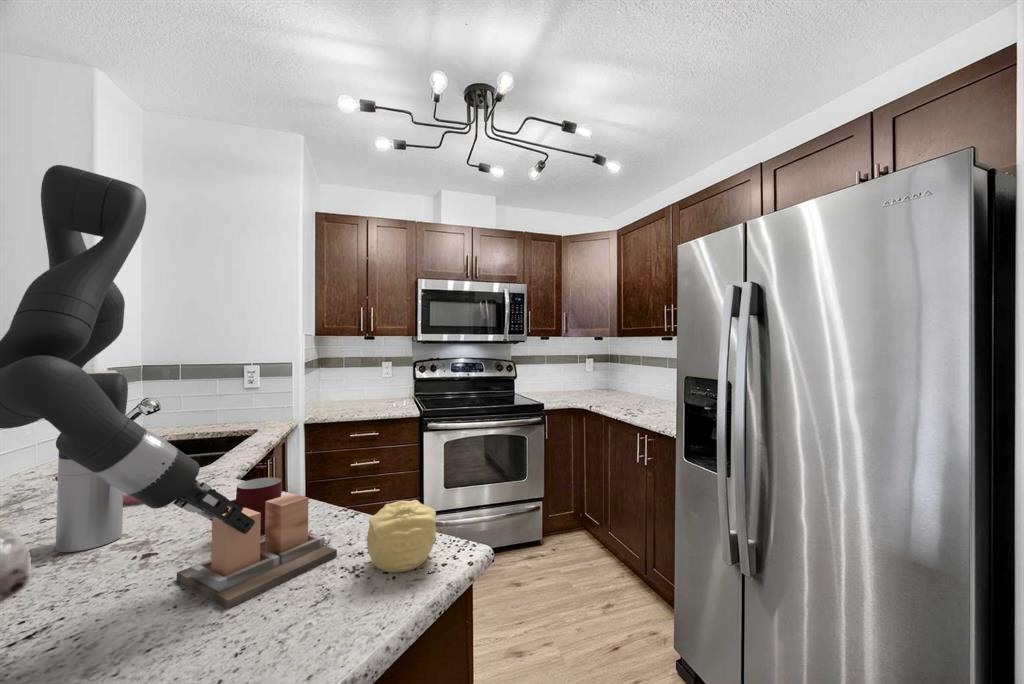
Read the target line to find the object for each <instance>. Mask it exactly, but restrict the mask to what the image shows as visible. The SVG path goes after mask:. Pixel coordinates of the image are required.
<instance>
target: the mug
mask: <svg viewBox="0 0 1024 684" xmlns="http://www.w3.org/2000/svg"><path fill="white" fill-rule="evenodd" d="M282 482H283V481H282V479H281V478H280V477H260V478H254V479H250V480H246V481H242V482H241V483H238V484H236V485H237V486H236V493H235V494H236V495H235V499H232V500H231V501H232V502H233V503H235V504H236V505H238V506H241V507H242V508H248V509H251V510H253V511H256V512H259V513H261V529H260V535H263V534H264V535H265V501H269V500H272V499H275V498H279V497H282V492H283V491H282V488H283V487H282V486H283V484H282ZM229 509H230V508H228V507H226V509H225V510H226V511H227V512H228V511H229Z"/></svg>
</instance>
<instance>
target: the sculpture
mask: <svg viewBox="0 0 1024 684" xmlns="http://www.w3.org/2000/svg"><path fill="white" fill-rule="evenodd" d="M436 515H437V511H436V510H435V508H433V507H430V506H428V505H426V504H424V503H421V502H420V501H419V500H417V499H413V500H398V501H395V502H391V503H386V504H385V505H383V507H382V508H381V509H380V510H378V512H377V513H375V514H373V515H372V516H371V517H370V518H369V519H368V524H369V526H368V530H367V534H366V535H367V536H366V546H367V552H368V554H369V555H368V556H369V557H370V559H371V561H372V563H373V564H374V565H375V566H376V567H377V568H378V569H379V570H381V571H384V572H388V573H403V572H408V571H412V570H414V569H417V568H418V567H420V566H421V565H422V564H423V563H424V562H425V561H426V560H427V559H428V557H429V555H430V554H431V552H432V549H433V548H434V547H433V546H434V544H435V542H436V537H437V527H436V525H437V516H436Z"/></svg>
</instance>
